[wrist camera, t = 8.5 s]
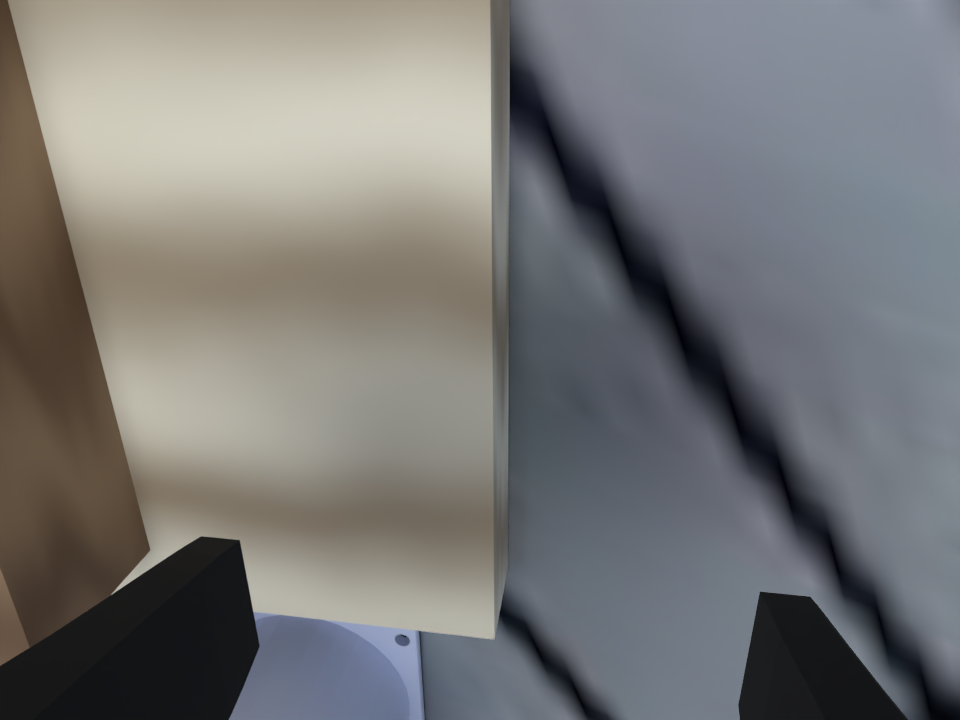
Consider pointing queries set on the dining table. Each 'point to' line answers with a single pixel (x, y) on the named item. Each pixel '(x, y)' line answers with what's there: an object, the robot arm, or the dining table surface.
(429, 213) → the birch plate
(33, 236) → the scraper bar
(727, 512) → the dining table surface
